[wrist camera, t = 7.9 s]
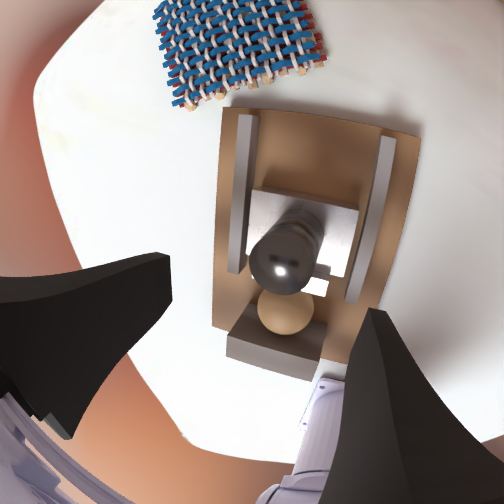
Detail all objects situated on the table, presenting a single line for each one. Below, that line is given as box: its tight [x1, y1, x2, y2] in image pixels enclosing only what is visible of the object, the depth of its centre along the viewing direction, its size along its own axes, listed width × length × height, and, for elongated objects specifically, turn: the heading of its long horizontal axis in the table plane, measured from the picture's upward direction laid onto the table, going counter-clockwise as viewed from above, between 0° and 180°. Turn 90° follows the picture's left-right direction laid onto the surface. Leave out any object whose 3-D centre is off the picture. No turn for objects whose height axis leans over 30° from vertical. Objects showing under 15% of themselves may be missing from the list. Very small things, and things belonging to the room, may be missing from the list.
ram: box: [246, 185, 359, 296], centre depth 15 cm, size 5×6×6 cm
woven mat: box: [152, 0, 327, 112], centre depth 14 cm, size 10×11×2 cm
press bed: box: [212, 107, 421, 382], centre depth 16 cm, size 17×12×5 cm
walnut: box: [257, 289, 314, 335], centre depth 18 cm, size 4×4×4 cm
